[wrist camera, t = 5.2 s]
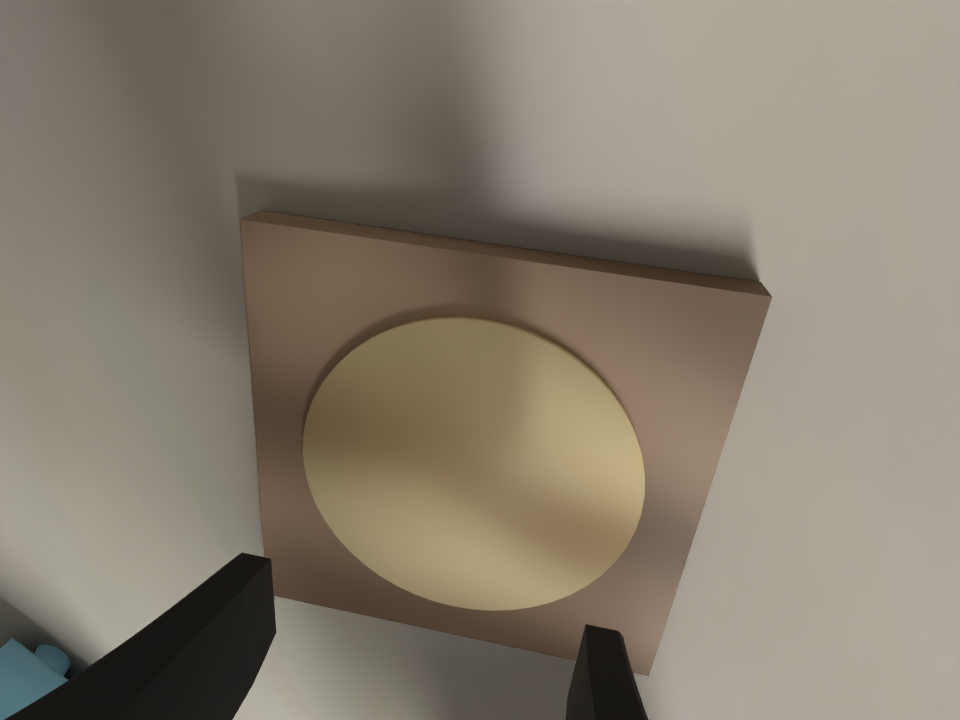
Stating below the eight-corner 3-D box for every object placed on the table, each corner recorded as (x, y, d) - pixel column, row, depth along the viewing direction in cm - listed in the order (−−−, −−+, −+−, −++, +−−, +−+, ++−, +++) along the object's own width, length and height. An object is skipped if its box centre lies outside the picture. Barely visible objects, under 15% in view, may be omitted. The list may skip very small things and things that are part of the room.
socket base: (646, 647, 19) (649, 684, 18) (281, 571, 21) (262, 601, 19) (760, 282, 14) (775, 301, 13) (260, 210, 15) (233, 222, 14)
